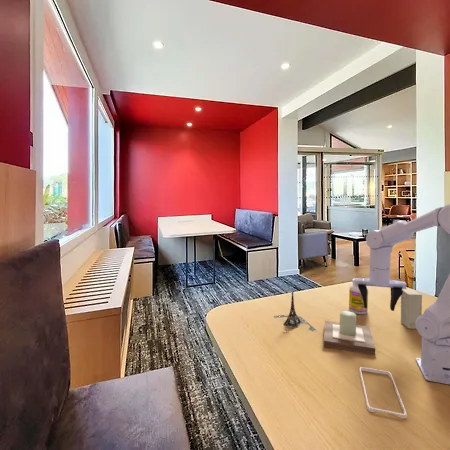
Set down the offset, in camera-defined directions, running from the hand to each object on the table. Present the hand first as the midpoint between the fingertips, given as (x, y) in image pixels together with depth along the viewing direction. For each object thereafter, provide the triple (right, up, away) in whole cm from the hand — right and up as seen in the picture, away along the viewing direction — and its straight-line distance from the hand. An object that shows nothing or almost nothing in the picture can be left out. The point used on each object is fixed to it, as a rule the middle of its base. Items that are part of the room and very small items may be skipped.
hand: (378, 308), depth 89 cm
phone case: (-13, -13, -24) cm, 30 cm away
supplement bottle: (+3, -8, +20) cm, 21 cm away
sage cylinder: (-10, -8, -1) cm, 13 cm away
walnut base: (-10, -10, -1) cm, 14 cm away
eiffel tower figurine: (-25, -10, +12) cm, 29 cm away
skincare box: (+15, -8, +8) cm, 19 cm away
